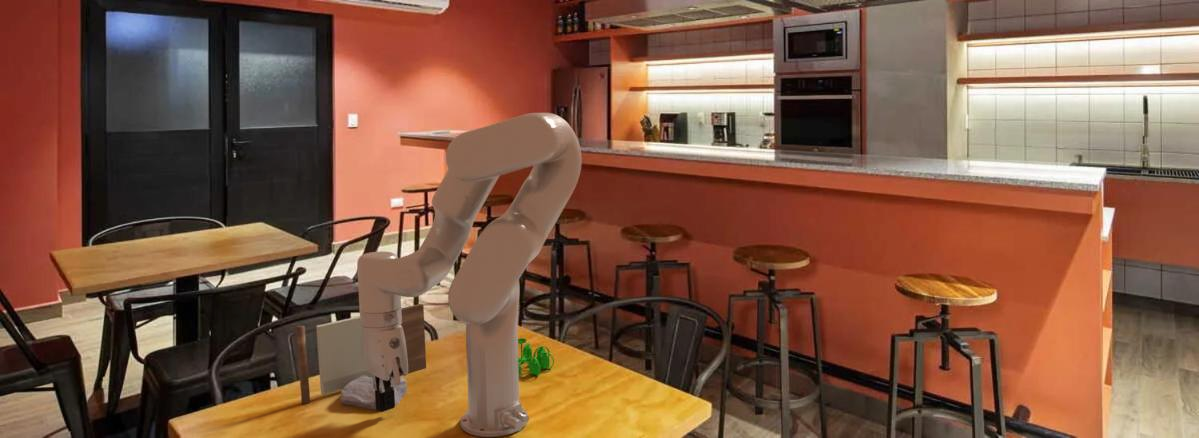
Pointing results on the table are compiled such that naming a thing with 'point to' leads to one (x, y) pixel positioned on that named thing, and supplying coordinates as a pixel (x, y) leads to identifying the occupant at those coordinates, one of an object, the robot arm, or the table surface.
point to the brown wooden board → (413, 339)
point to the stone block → (367, 392)
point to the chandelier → (534, 363)
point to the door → (339, 354)
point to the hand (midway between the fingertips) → (385, 408)
